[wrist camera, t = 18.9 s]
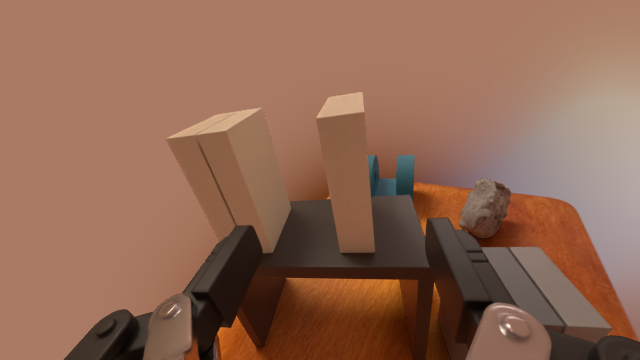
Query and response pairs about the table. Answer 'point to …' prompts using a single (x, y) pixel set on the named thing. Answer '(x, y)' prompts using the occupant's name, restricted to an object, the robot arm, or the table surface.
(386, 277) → the shelf
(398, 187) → the bracket
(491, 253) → the grey books
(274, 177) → the white books
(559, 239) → the table surface
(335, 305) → the table surface
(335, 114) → the beige rectangular block
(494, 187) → the stone
